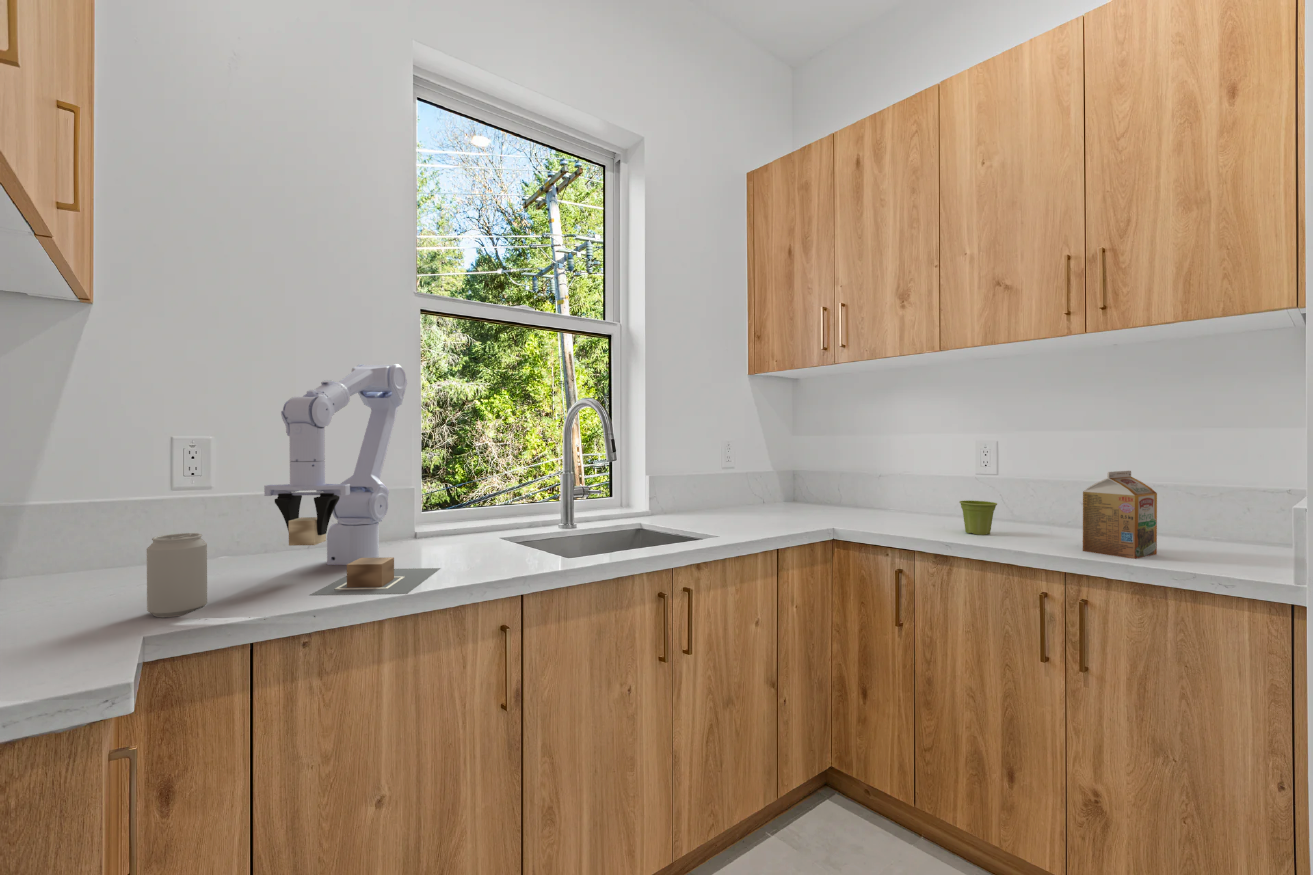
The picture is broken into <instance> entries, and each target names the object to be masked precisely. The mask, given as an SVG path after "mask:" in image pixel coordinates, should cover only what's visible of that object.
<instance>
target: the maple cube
mask: <svg viewBox="0 0 1313 875" xmlns="http://www.w3.org/2000/svg"><path fill="white" fill-rule="evenodd" d="M324 542H327V533H326V534H323V535H318V533H317V516H316V517H303V516H302V517H299V518H297V519H294V520H290V521H289V532H288V546H316V545H319V544H323V543H324Z"/></svg>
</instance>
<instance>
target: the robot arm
mask: <svg viewBox="0 0 1313 875" xmlns="http://www.w3.org/2000/svg"><path fill="white" fill-rule="evenodd" d="M320 384H321V385H319V386H317V387H316V388H314V389H308V390H307V391H306V393H305V394H303V396H292V397H291V398H289V399H288V400H287V401H286V402H284V403H283V404H284V405H283V407H282V410H281V411H280V415H281V420H282V421H283V423H284V424H285V432H286V435H287V436H288V437H289V484H288V483H286V484H266V485H264V487H263V488H264V491H263V492H264V493H263V494H264V497H271V496H277V498H274V504H275V505H276V507H277V508H278V509H279V511H280V513H281V515H282V518H283V519H284V521H285V524H286V528H287V532H288V533H289V521H290V520H294V519H297V518H300V508H301V502H302V498H303V496H316V497H313V502H314V505H315V507H314V508H315V512H316V517H317V533H318V535H323V534H326V564H327V565H328V566H329V565H333V566H335V565H343V566H345V565H346V566H347V564H349V563H351V562H353V561H355V560H357V559H359V558H380V557H379V556H380V551H379V550H380V547H379V544H380V534H379V533H380V526H379V523H381V522H383V520H384V518H385V517H386V515H387V513H388V508H389V493H390V490H389V488H388V487H387V486H386V484H384V482H382V481H381V480H380V479H381V475H382V472H383V469H384V468H383V467H384V464H385V461H386V460H385V459H386V457H387V452H388V448H389V445H390V442H391V438H392V434H393V430H394V426H395V422H396V418H397V414H398V411H399V407H400V406H401V405H403V400H404V396H405V393H406V389H407V385H408V379H407V376H406V372H405V370H404V368H403V366H401V365H400V364H399V363H394V364H358V365H356V366H353V367H352V368H351V372H350V373H348V374H347V375H346V376H345V377H343V378H342V379H340V380H339V381H335V380H333V379H325V380H324V379H323V380H322V381H321V382H320ZM355 394H358V396H359V398H360V400H361V401H362V403H363V405H365V406H366V407H368V408H370V409H371V410H370V414H369V418H368V421H367V425H366V429H365V432H364V436H363V440H362V443H361V446H360V449H359V454H358V458H357V461H356V465H355V468H354V471H353V475H351V476H350V477H348V478H346V479H345V480H344V481H342V482H340V483H326V461H325V460H326V458H325V457H326V455H325V453H326V448H325V447H326V442H325V440H326V438H325V436H326V435H325V434H326V433H325V431H326V430H325V428H326V427H328V426H329V425H330V423H331V422H332V419H333V416H334V415H335V414H336V413H338V411H340V410H342V409H343V408H345V407H346V406H347V405H349V402H350V401H351V400H350V399H351V397H352V396H355ZM303 491H304V492H303ZM307 491H308V492H307ZM312 491H315V492H312ZM332 516H333V517H334V519H336V520H337V523H336V522H335V523H333V524H332V523H331V525H330V527H329V523H330V520H331V517H332Z"/></svg>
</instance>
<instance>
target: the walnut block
mask: <svg viewBox="0 0 1313 875" xmlns="http://www.w3.org/2000/svg"><path fill="white" fill-rule="evenodd" d="M394 569H395V557H389V556H388V557H379V558H359V559H357V560H355V561H353V562H351V563H349V564H347V565H346V576H347V587H382V586H384V585H386V584H387V583H389V582H390V581H392V580H393V579H394Z"/></svg>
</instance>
